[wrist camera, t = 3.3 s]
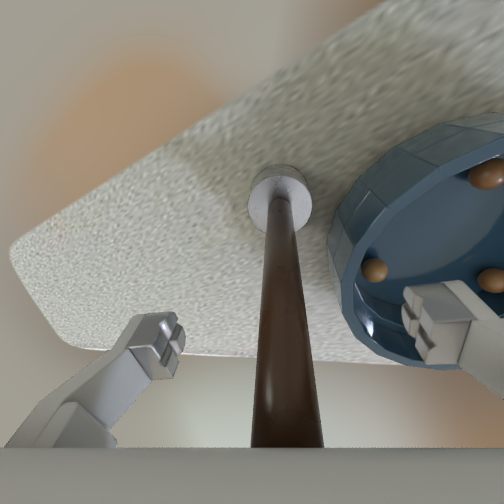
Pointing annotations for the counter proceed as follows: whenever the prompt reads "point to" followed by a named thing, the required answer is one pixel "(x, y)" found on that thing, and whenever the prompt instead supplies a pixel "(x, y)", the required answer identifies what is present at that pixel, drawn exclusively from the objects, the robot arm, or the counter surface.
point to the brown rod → (283, 317)
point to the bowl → (418, 230)
